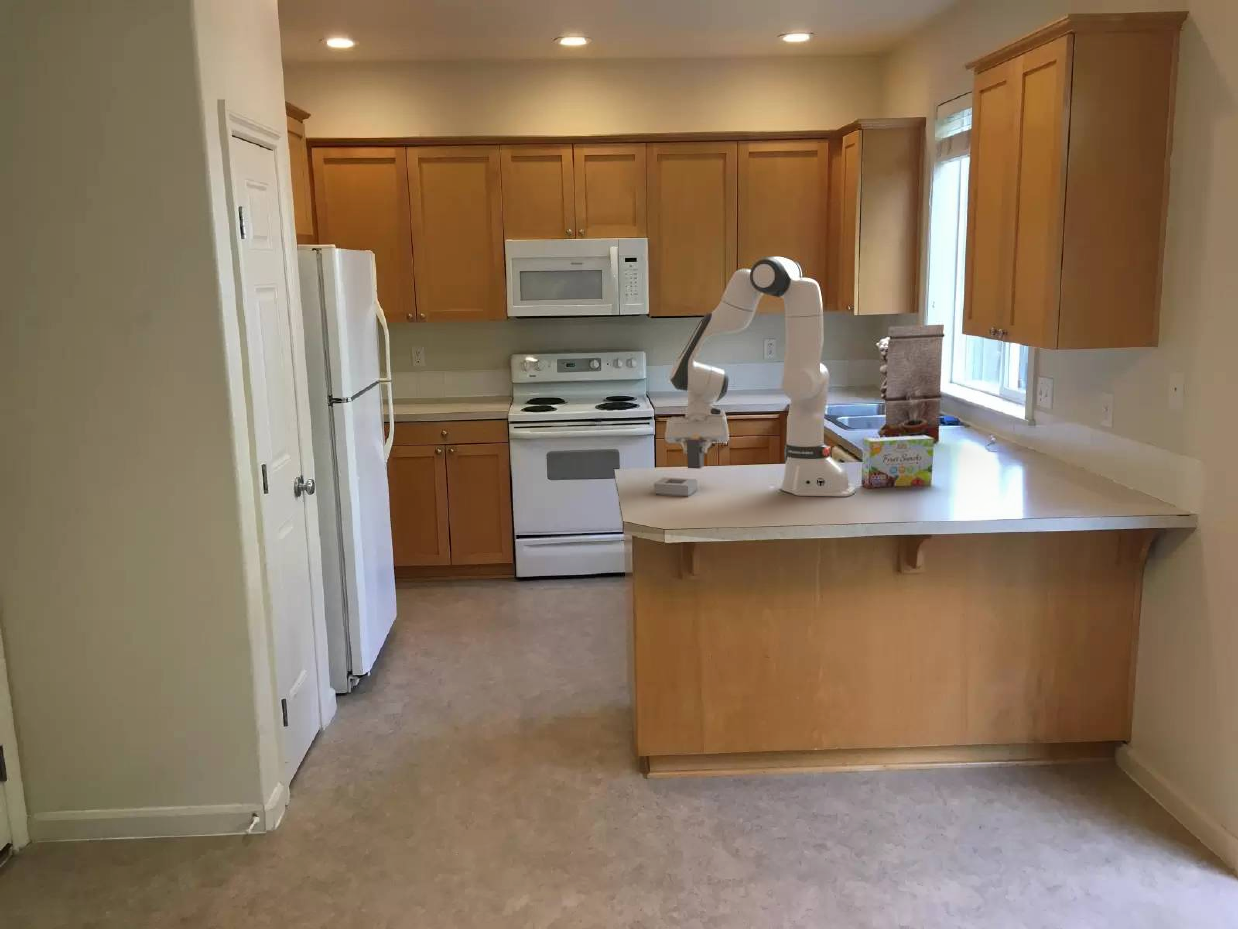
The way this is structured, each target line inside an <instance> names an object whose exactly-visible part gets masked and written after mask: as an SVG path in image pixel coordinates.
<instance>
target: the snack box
mask: <svg viewBox="0 0 1238 929" xmlns="http://www.w3.org/2000/svg"><path fill="white" fill-rule="evenodd" d="M863 438H864V439H863ZM863 438H862V440H863V441H862V461H861V462H862V463H861V481H860V484H861V486H863V487H865V486H866V487H865V488H866V489H875V488H874V487H881V488H892V487H891V486H899V487H914V485H915V486H928V485H929V484H931V485H932V479H933V478H932V477H933V476H932V475H933V463H934V462H933V461H934V447H935V446H934V445H935V442H934V438H931V437H928V436H925V435H923V436H904V437H884V438H872V437H863ZM889 486H890V487H889ZM929 486H930V485H929Z"/></svg>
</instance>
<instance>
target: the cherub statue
mask: <svg viewBox="0 0 1238 929" xmlns="http://www.w3.org/2000/svg"><path fill="white" fill-rule="evenodd" d="M944 327H945V325H944V324H924V325H923V324H922V325H899V326H898V325H897V326H896V325H895V326H888V337H886V338H882V339H881V340H880V341H879V342H877V343H876V347H877V348H878V350H879V353H880V356H881V360H882V361H884V362H885V363H886V364H884V365H881V366H880V368H879V372H880V373H881V374H882V375H883V376H885V377H886V379H885V380H884V381H883V382H882V384H881V387H880V390H879V391H880V393H881V397H880V398H881V399H883V400H884V403H885V405H884V409H883V410H884V415H885V421H884V423H883V424H882V425H881V427H879V429H878V430H877V434H878V437H880V438H884V437H891V434H890V431H889V430H886V429H885V426H886V425H891V426H899V427H900V424H901V423H903V422H904V421H906V420H910V419H924V420H926V421H927V423H926V426H925V434H924V435H925V436H928V437H931V438H934V443H939V442H940V440H939V439H940V434H939V433H940V421H941V419H940V418H941V417H940V416H941V413H940V410H941V399H942V394H941V386H942V383H941V379H942V377H941V376H942V360H943V359H942V355H943V354H942V353H943V340H944V337H945V334H944ZM894 433H895V436H896V437H899V434H901V433H900V431H899V430H894Z"/></svg>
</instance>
